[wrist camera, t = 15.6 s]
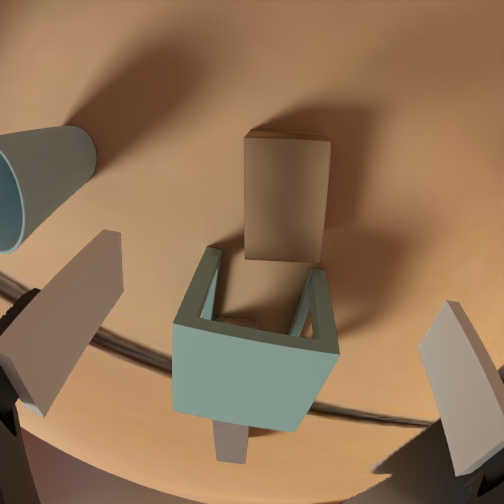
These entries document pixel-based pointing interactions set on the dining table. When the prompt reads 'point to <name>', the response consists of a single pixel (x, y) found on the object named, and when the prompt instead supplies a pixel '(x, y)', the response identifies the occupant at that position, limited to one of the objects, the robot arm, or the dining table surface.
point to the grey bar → (228, 434)
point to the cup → (39, 177)
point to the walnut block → (285, 194)
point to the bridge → (250, 357)
